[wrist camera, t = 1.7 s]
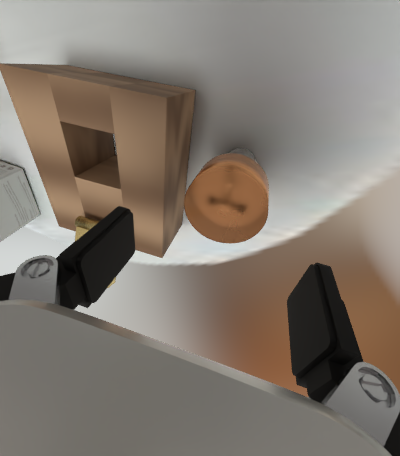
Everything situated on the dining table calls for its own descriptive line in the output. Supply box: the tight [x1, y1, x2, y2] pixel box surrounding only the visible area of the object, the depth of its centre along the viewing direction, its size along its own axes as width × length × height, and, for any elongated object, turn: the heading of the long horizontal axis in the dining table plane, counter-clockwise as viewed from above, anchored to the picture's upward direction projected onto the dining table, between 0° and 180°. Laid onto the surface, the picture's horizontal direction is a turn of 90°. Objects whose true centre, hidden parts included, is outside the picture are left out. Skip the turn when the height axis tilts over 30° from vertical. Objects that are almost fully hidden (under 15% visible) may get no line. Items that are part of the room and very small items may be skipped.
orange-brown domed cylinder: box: [184, 148, 269, 243], centre depth 16 cm, size 5×5×8 cm
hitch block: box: [0, 64, 195, 258], centre depth 20 cm, size 14×12×6 cm
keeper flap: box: [75, 216, 116, 288], centre depth 20 cm, size 6×4×1 cm
